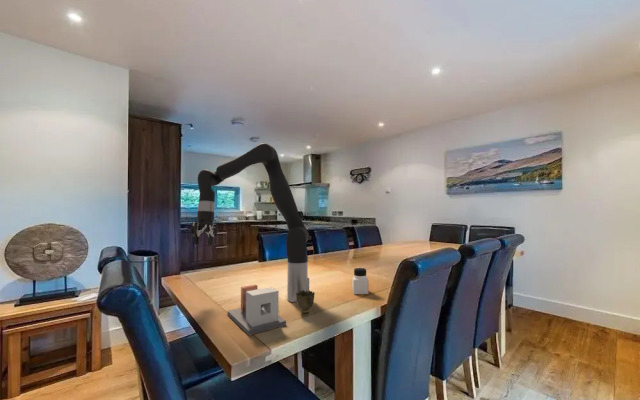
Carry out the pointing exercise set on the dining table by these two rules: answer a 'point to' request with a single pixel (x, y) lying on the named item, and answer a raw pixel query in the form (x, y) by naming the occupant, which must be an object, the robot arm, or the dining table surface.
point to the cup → (305, 301)
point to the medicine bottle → (360, 281)
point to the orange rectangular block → (243, 295)
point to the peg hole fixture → (258, 311)
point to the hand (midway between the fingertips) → (203, 245)
